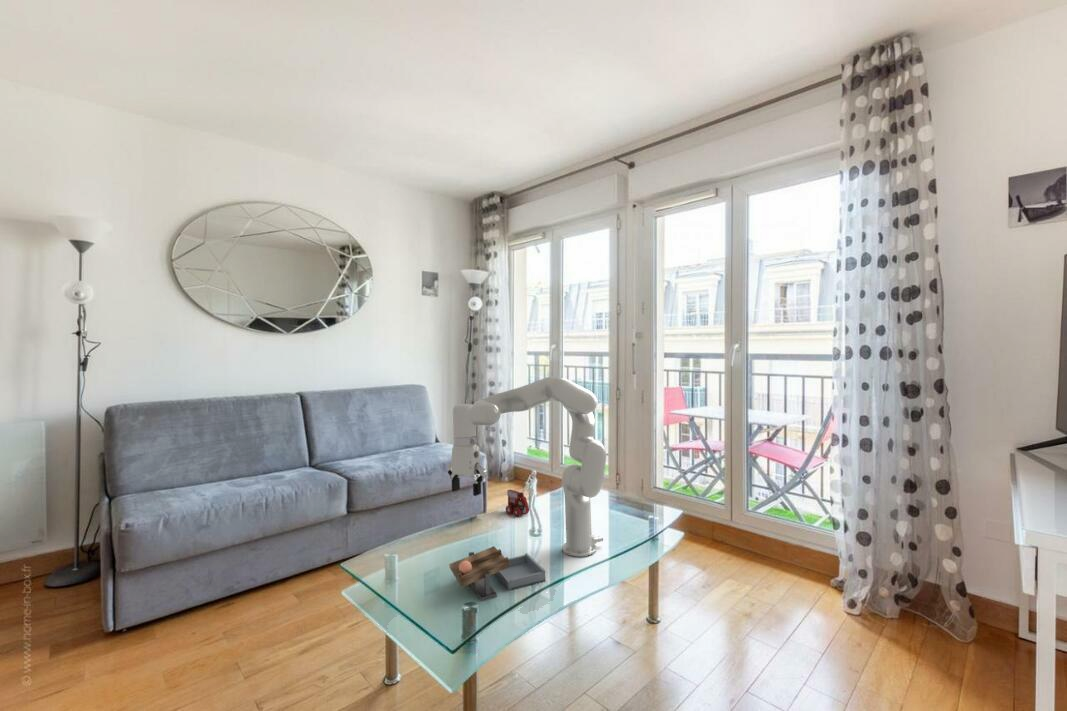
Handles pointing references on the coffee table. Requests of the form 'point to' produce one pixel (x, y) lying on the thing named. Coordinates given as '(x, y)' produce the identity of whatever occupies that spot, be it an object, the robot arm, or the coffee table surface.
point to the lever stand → (483, 586)
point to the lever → (480, 565)
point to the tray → (521, 572)
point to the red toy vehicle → (516, 503)
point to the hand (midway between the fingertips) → (466, 492)
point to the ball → (465, 567)
